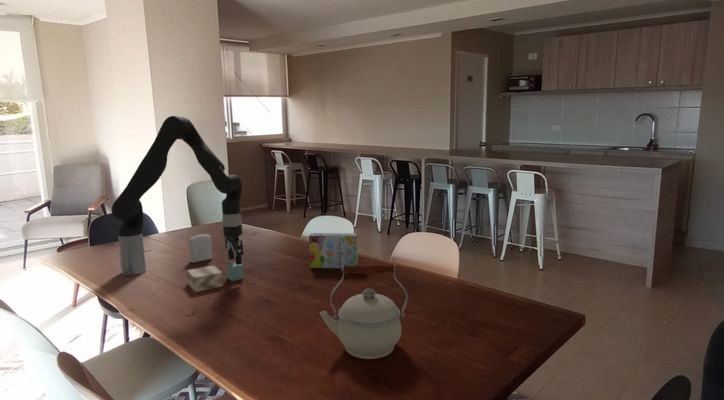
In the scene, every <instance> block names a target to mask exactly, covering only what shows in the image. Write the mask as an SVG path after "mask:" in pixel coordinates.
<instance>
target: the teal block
mask: <svg viewBox="0 0 724 400" xmlns="http://www.w3.org/2000/svg"><path fill="white" fill-rule="evenodd" d="M243 266H244V265H243V263H241V264H240V265H236V261H235V262H231V263H227V264H226V274H227V275H226V277H227V279H228V280H230V281H231V282H234V281H239V280H244V268H243Z"/></svg>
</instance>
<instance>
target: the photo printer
mask: <svg viewBox="0 0 724 400" xmlns="http://www.w3.org/2000/svg"><path fill="white" fill-rule="evenodd" d="M188 243H189V245H188V246H189V257H190V259H189V260H190V263H198V262H203V261H208V260H212V259H213V248H212V247H213V246H212V245H213V244H212V236H211V235H210V234H197V235H195V236H192V237H190V238H189V241H188Z"/></svg>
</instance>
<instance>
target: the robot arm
mask: <svg viewBox="0 0 724 400" xmlns="http://www.w3.org/2000/svg"><path fill="white" fill-rule="evenodd" d="M177 140H182V141H183V142H185V143H186V145H188V146H189V147H190V149H192V151H193V153H194V156H195V158H196V160H197V162H198V164H199V166H201V168H202V169H203V170H204V171H205V172H206V173H207V174H208V175H209V177H210V179H211V181H212V182H213V185H214V187H215V188H216V190H218V191H219V192H220V193H221V194H225V195H226V196H225V198H224V199H223V200H222V201H221V210H222V221H221V222H222V233H223V236H224V241H225V243H224V244H225V249H226V251H227V253H228V254H227V255H228V256H227V257H228V258H227V259H228V260H229V261H231V260H234V259H235V262H236V265H240V264H243V262H242V255H244V248H243V246H244V245H243V240H240V236H242V234H243V223H242V214H241V203H240V202H241V197H242V189H243V188H242V187H243V184H242V183H243V182H242V180H241V178H240V177H239V176H238V175H236V174H229V175H227V174H225V170H226V168H225V165H224V163H223V162H222V161H221V160H220V159H219V158H218V156H216V154H215V153H214V152H213V151H212V150H211V149H210V147H209V146H208V145H207V144H206V142H205V141H204V139H203V138H202V136H201V135H200V134H199V131H198V130H197V129H196V127H195V126H194V124H193V123H192V122H191V120H190V119H189V118H187V117H184V116H179V115H178V116H177V115H171V116H168V117H167V118H166V119H165V120H164V121H163V123H162V124H161V127H160V129H159V131H158V132H157V135H156V136H155V139H154V140H153V143H152V144H151V145H150V147H149V149H148V151H147V153H146V154H145V156H144V157H143V158H142V160H141V161H140V163H139V165H138V166H137V168H136V170H135V172H134V173H133V175H132V177H131V178H130V180H129V182H128V183H127V184H126V186H125V188H124V189H123V190H122V192H121V193H120V194H119V195H118V197H117V198H116V199H115V201H114V202H113V203H112V205H111V214H112V216H113V218H115V219H116V220H118V221H122V222H121V224H120V226H119V228H118V229H117V236H118V245H119V259H120V270H121V274H122V276H123V277H125V276H127V277H128V276H137V275H141V274H145V272H146V271H147V269H146V267H147V266H146V257H145V248H144V247H145V246H144V236H143V228H144V209H143V204H142V202H141V200H140V199H141V198H142V197H143V196H144V195H145V194H146V192H148V191H149V190H150V189H151V188H153V187H154V185H155V184H156V183H157V182H159V181H158V180H159V179H160V178H161V177H162V176H163V173H164V172H165V170H166V168H167V164H168V156H169V152H170V150H171V148H172V146H173V145H174V144H175V142H176V141H177Z"/></svg>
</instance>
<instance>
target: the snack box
mask: <svg viewBox="0 0 724 400" xmlns="http://www.w3.org/2000/svg"><path fill="white" fill-rule="evenodd" d="M358 238H359V237H358V232H357V233H356V232H355V233H354V232H353V233H352V232H350V233H349V232H348V233H347V232H345V233H344V232H343V233H342V232H335V233H333V232H311V233H310V234H309V236H308V244H309V245H308V246H309V247H308V249H309V268H311V269H316V268H317V269H319V268H320V269H342V268H343V265H348V266H354V265H359V252H358V251H359V249H358V248H359V246H358V244H359V242H358V241H359V239H358Z"/></svg>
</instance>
